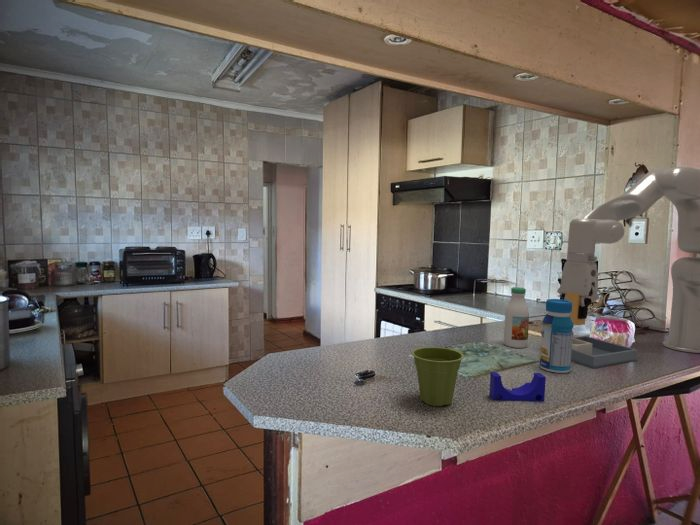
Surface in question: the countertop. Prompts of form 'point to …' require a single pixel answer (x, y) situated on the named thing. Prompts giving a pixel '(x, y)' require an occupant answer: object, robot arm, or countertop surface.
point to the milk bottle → (516, 320)
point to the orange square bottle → (575, 308)
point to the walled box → (600, 352)
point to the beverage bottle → (557, 336)
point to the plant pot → (437, 373)
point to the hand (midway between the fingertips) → (575, 316)
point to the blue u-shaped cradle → (518, 389)
